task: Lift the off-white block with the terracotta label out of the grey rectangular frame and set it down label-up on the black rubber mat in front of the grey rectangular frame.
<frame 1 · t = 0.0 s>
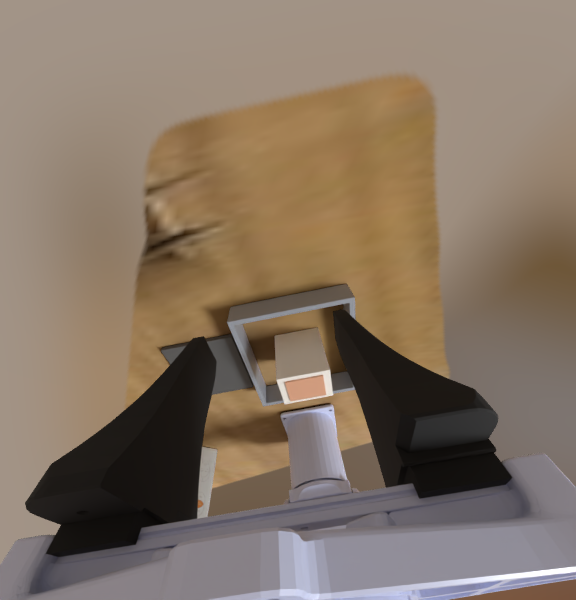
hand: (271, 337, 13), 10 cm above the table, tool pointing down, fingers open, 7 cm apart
small box: (190, 450, 39), on the table
mat: (211, 367, 28), on the table
grey rectangular frame: (298, 344, 27), on the table
block: (302, 364, 25), in the grey rectangular frame
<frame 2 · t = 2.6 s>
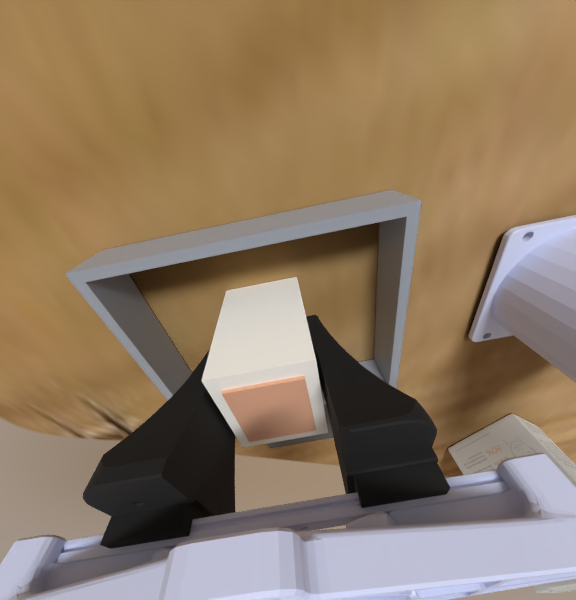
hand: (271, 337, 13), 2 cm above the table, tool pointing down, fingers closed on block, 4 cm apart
small box: (488, 434, 26), on the table
mat: (309, 412, 20), on the table
grey rectangular frame: (271, 318, 14), on the table
block: (272, 355, 12), in the grey rectangular frame, touching gripper
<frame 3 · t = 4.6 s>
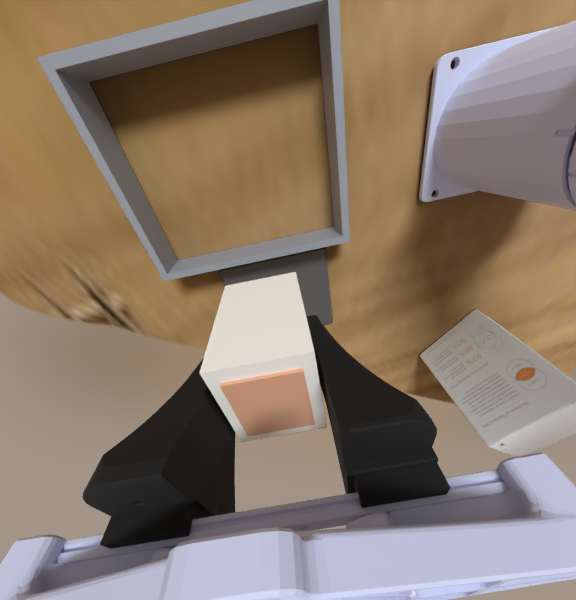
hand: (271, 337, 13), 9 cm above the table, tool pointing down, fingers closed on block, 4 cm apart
small box: (457, 339, 27), on the table
mat: (281, 296, 22), on the table
grey rectangular frame: (233, 167, 16), on the table
block: (271, 350, 12), point 10 cm above the table, touching gripper
when the fingers open (3 cm above the table, at t = 6.7 s): block stays where it is, resting on mat.
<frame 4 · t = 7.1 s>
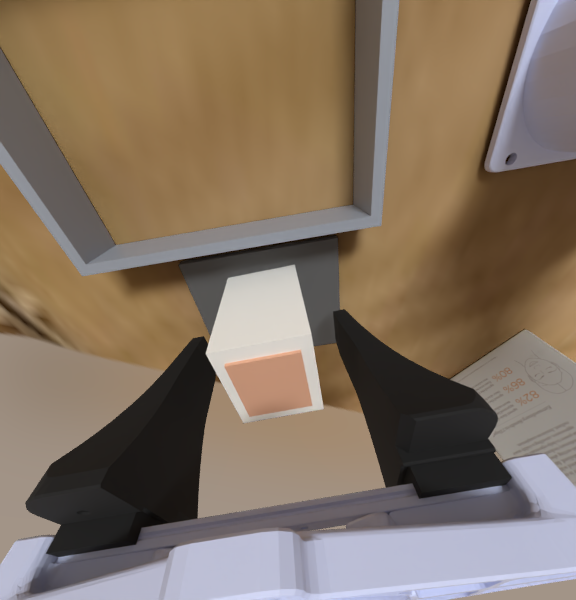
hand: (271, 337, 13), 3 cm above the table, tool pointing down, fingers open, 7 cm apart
small box: (494, 365, 22), on the table
mat: (270, 304, 15), on the table
grey rectangular frame: (196, 89, 9), on the table
block: (271, 338, 12), on the mat
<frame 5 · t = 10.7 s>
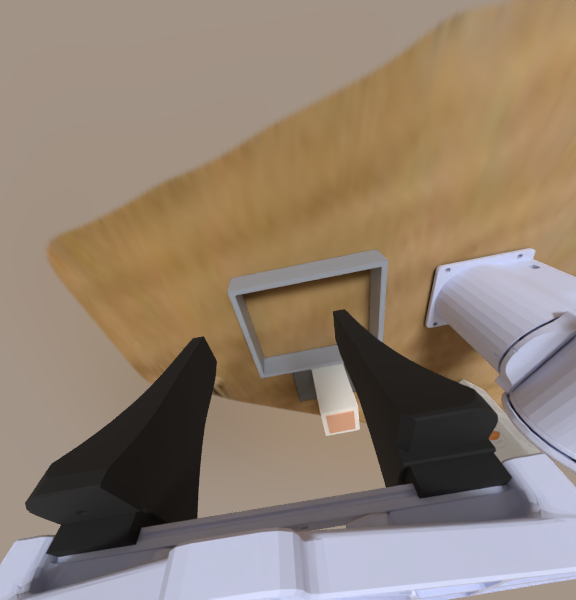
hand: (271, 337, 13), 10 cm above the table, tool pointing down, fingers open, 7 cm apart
small box: (450, 396, 37), on the table
mat: (328, 375, 31), on the table
grey rectangular frame: (310, 313, 25), on the table
block: (334, 398, 28), on the mat
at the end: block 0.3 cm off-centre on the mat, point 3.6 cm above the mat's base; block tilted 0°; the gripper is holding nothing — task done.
